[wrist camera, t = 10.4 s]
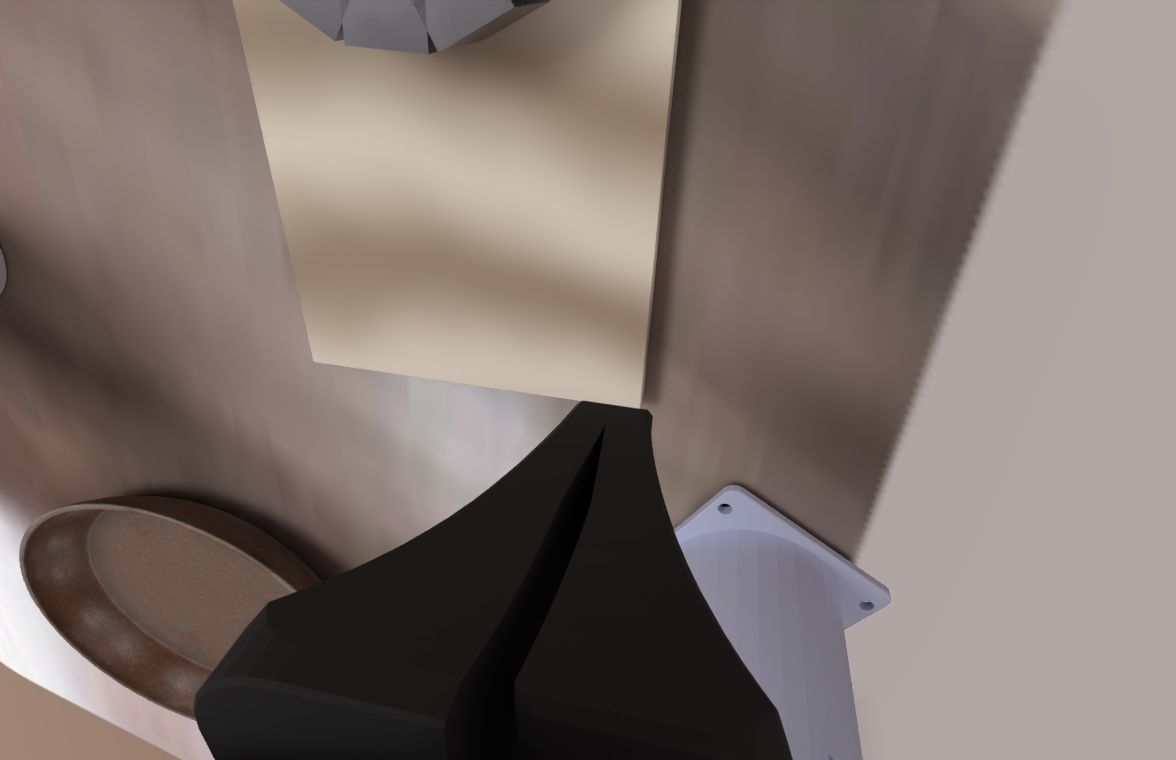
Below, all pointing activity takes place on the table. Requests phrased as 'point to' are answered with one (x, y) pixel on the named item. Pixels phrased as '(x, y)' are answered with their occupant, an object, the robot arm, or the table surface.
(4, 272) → the coffee cup
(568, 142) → the mount plate
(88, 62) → the table surface
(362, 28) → the dark grey segmented ring
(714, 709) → the robot arm
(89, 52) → the table surface
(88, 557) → the plant saucer
